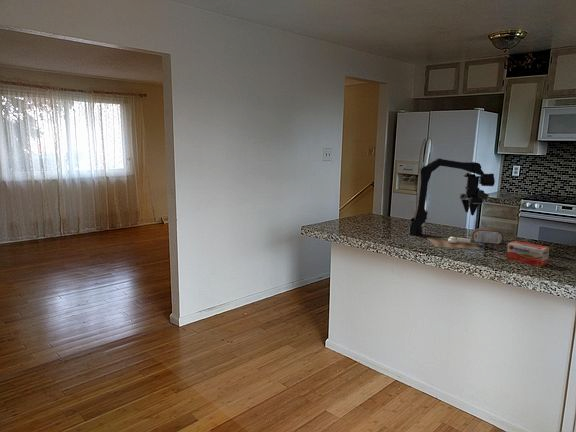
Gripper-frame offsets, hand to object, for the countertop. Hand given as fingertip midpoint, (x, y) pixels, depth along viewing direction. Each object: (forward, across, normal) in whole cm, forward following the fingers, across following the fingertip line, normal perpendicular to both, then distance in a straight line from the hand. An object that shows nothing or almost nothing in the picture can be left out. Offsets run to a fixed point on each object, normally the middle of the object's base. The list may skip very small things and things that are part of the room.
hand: (469, 213), depth 227 cm
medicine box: (+15, -40, -13) cm, 45 cm away
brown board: (+14, -15, +12) cm, 24 cm away
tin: (+15, -10, -7) cm, 19 cm away
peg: (+13, -16, +9) cm, 22 cm away
